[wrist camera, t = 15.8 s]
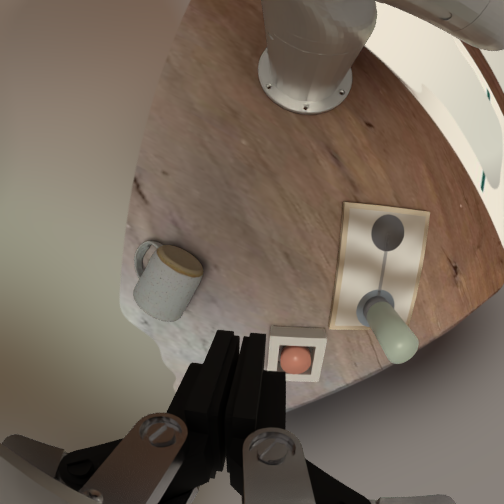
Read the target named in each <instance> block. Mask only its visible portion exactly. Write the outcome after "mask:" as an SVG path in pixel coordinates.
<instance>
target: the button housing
mask: <svg viewBox="0 0 504 504" xmlns="http://www.w3.org/2000/svg"><path fill="white" fill-rule="evenodd" d="M326 342H327V336H326V332H325V329H324V328H302V327H283V326H271V330H270V343H269V355H268V367H267V371H282V372H285V371H284V370H283V369H282V367H281V362H278V354H279V345H289V346H312V351H311V365H310V367H309V368H308V369H307V370H306V371H305V372H303V373H300V374H289V373H287V372H286V381H304V382H319V377H320V372H321V368H322V363H323V358H324V353H325V348H326Z"/></svg>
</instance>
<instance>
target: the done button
mask: <svg viewBox="0 0 504 504" xmlns="http://www.w3.org/2000/svg"><path fill="white" fill-rule="evenodd" d="M310 365H311V356H310V351H309V349H308V347H307V346H289V345H287V346H285V347H284V348H283V350H282V351H281V367H282V369H283V370H284V371H285V372H287V373H289V374H300V373H303V372H305V371H306V370H307V369H308V368H309V367H310Z"/></svg>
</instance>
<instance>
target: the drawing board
mask: <svg viewBox="0 0 504 504" xmlns="http://www.w3.org/2000/svg"><path fill="white" fill-rule="evenodd" d="M429 216H430V212H427V211H421V210H414V209H406V208H398V207H390V206H381V205H372V204H363V203H353V202H343V207H342V220H341V231H340V242H339V251H338V260H337V268H336V276H335V284H334V291H333V298H332V305H331V311H330V317H329V324H328V327H329V329H335V330H372V329H371V327H370V325H369V324H368V322H367V320H366V318H365V317H364V315H363V307H364V305H365V303H366V302H367V301H368V300H369V299H370V298H372V297H374V296H382V297H384V298H385V299H386V300H387V301H388V302H389V304H390V305H391V306H392V307H393V308H394V310H395V311H396V312H397V313H398V315H399V316H400V317H401V318H402V320H403V321H404V322H405V323H406V325H407V326H408V327H409V323H410V319H411V316H412V312H413V308H414V304H415V299H416V295H417V291H418V286H419V281H420V276H421V271H422V266H423V260H424V254H425V248H426V241H427V233H428V225H429Z"/></svg>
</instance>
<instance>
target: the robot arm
mask: <svg viewBox="0 0 504 504" xmlns="http://www.w3.org/2000/svg"><path fill="white" fill-rule="evenodd" d="M375 1H377V2H380V3H386V4H388V5H391V6H393V7H396V8H398V9H400V10H403V11H405V12H407V13H410V14H412V15H414V16H416V17H418V18H420V19H423V20H425V21H427V22H429V23H431V24H433V25H435V26H436V27H438V28H440V29H442V30H444V31H446V32H447V33H449V34H451V35H453V36H455V37H456V38H458V39H460V40H462V41H464V42H466V43H467V44H470V45H472V46H474V47H477V48H479V49H484V50H488V51H498V50H503V49H504V0H261V2H262V9H263V16H264V23H265V31H266V40H267V48H266V49H265V50H264V52H263V53H262V55H261V57H260V60H259V64H258V76H259V81H260V83H261V86H262V88H263V90H264V91H265V93H266V94H267V96H268V97H269V98H270V99H271V100H272V101H273V102H274V103H276V104H277V105H279V106H280V107H282V108H284V109H286V110H288V111H291V112H294V113H298V114H306V115H312V114H320V113H325V112H327V111H330V110H332V109H334V108H335V107H337V106H338V105H339V104H340V103H341V102H342V101H343V100H344V99H345V98H346V97H347V95H348V93H349V91H350V89H351V85H352V70H351V66H352V64H353V63H354V61H355V59H356V58H357V56H358V55H359V53H360V51H361V50H362V48H363V47H364V45H365V43H366V42H367V40H368V38H369V37H370V35H371V34H372V32H373V30H374V27H375V24H376V19H377V10H376V3H375ZM268 87H271V89H267V88H268ZM339 93H342V94H343V95H340V94H339ZM304 107H306V108H307V110H304V109H303V108H304ZM239 342H240V338H239V336H234V332H233V331H224V330H217V332H216V335H215V337H214V339H213V342H212V344H211V347H210V349H209V351H208V354H207V356H206V358H205V361H204V363H203V364H199V363H191V364H190V365H189V367H188V369H187V371H186V373H185V375H184V377H183V379H182V381H181V384H180V386H179V388H178V390H177V392H176V394H175V396H174V398H173V400H172V402H171V404H170V406H169V408H168V410H167V413H153V414H148V415H147V416H144V417H142V418H141V419H140V420H139V421H138V422H137V423H136V424H135V425H134V426H133V428H132V429H131V430H130V431H129V433H128V434H127V435H126V436H125V437H124V438H123V439H119V440H116V441H112V442H109V443H105V444H101V445H98V446H94V447H90V448H85V449H81V450H76V451H73V452H70V453H67V452H66V451H65V450H64V449H62V448H58V447H55V446H51V445H48V444H45V443H42V442H39V441H36V440H33V439H30V438H28V437H25V436H22V435H17V434H14V435H10V436H8V437H6V438H5V440H4V441H3V442H2V444H1V443H0V504H192V503H193V501H194V499H195V497H196V495H197V493H198V491H199V487H200V485H203V484H205V483H207V482H209V479H210V478H215V474H216V471H221V472H222V470H223V467H224V463H225V458H226V460H227V472H229V473H230V485H231V486H232V487H233V488H234V489H235V490H236V491H237V492H238V493H239V494H240V495H241V496H242V504H456V503H455V502H454V500H453V499H452V498H451V497H449V496H446V495H428V496H416V497H391V498H389V497H382V498H381V497H380V498H379V499H378V500H368V499H367V498H365V497H364V496H362V495H360V494H359V493H357V492H356V491H354V490H352V489H351V488H349V487H347V486H345V485H344V484H343V483H341V482H339V481H338V480H336V479H334V478H333V477H332V476H330V475H328V474H327V473H325V472H324V471H322V470H321V469H320V468H318V467H317V466H315V465H313V464H312V463H311V462H309V461H308V460H306V459H305V457H304V453H303V448H302V445H301V443H300V441H299V439H298V438H297V437H296V436H295V435H294V434H292V433H291V432H289V431H287V430H285V415H286V372H282V371H265V370H264V358H265V344H266V334H260V333H250V337H246V336H244V338H243V342H242V346H241V350H240V354H239Z"/></svg>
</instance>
